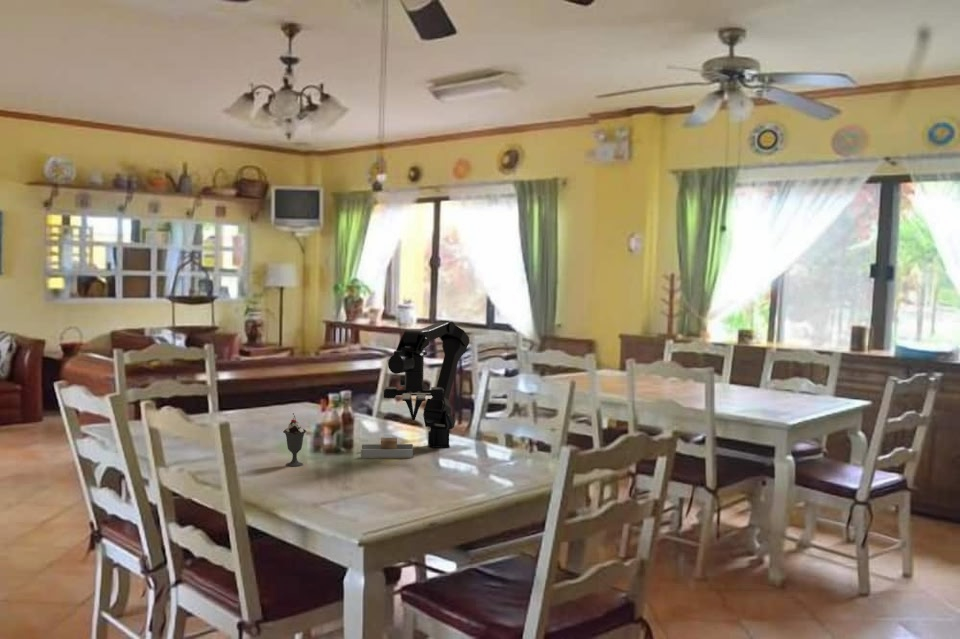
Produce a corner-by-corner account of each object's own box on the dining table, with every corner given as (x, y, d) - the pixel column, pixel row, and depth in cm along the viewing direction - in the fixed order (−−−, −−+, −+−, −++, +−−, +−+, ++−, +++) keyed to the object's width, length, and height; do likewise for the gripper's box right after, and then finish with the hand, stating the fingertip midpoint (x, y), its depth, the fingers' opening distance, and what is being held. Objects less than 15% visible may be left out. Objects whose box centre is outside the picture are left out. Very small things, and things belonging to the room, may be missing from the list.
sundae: (293, 460, 254) (294, 411, 253) (310, 464, 250) (311, 413, 249) (278, 465, 248) (278, 414, 247) (295, 468, 245) (295, 417, 244)
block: (396, 453, 268) (397, 437, 267) (396, 456, 263) (397, 441, 262) (380, 453, 267) (381, 437, 267) (380, 456, 262) (380, 440, 262)
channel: (412, 451, 270) (412, 444, 270) (413, 457, 262) (413, 449, 261) (361, 451, 268) (362, 443, 268) (360, 457, 260) (360, 449, 260)
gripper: (442, 367, 273) (441, 415, 274) (384, 366, 271) (383, 415, 272) (444, 372, 262) (443, 422, 263) (384, 371, 260) (383, 421, 261)
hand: (413, 420), depth 265 cm, fingers closed
